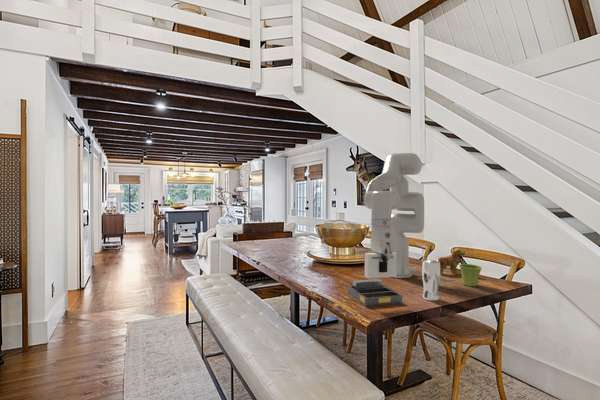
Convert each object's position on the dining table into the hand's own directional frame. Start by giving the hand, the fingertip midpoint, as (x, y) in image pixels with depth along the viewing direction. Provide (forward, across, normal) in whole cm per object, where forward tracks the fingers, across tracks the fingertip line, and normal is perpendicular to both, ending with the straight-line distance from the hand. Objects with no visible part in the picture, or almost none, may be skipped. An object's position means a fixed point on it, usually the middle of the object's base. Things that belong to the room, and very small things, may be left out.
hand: (380, 270), depth 126 cm
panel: (+2, 0, 0) cm, 2 cm away
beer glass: (+13, 0, -22) cm, 25 cm away
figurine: (+12, +32, -57) cm, 66 cm away
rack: (+12, +6, 0) cm, 14 cm away
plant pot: (+12, +12, -52) cm, 55 cm away
